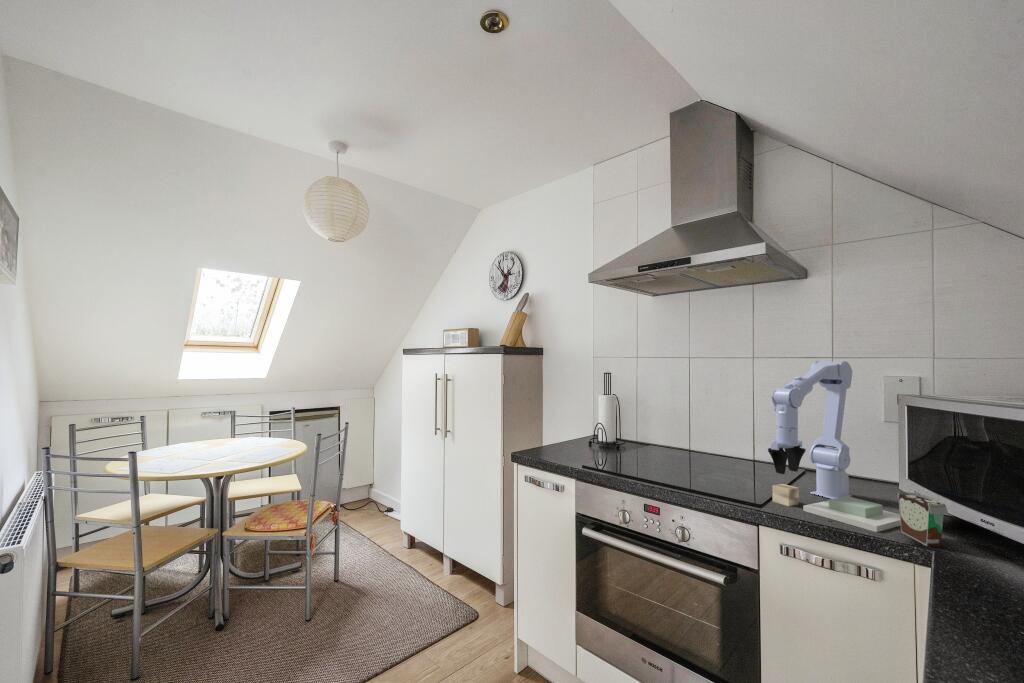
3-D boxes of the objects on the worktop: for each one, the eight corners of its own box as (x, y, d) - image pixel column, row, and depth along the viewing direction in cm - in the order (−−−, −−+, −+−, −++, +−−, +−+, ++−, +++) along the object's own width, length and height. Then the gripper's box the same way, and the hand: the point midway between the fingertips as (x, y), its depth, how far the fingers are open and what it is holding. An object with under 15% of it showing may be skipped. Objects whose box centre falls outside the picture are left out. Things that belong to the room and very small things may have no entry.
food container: (962, 551, 103) (961, 507, 103) (931, 548, 104) (930, 504, 104) (925, 532, 115) (924, 492, 115) (897, 529, 116) (896, 490, 117)
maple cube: (782, 499, 141) (782, 483, 141) (798, 504, 136) (798, 487, 137) (772, 501, 138) (772, 485, 139) (788, 506, 134) (788, 489, 134)
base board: (838, 503, 138) (837, 490, 138) (911, 522, 122) (910, 507, 122) (803, 510, 130) (803, 496, 130) (876, 532, 114) (876, 516, 114)
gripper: (785, 424, 145) (785, 467, 144) (760, 426, 137) (760, 471, 137) (809, 427, 139) (809, 471, 138) (784, 429, 131) (784, 476, 131)
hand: (786, 472), depth 137 cm, fingers open, 7 cm apart
